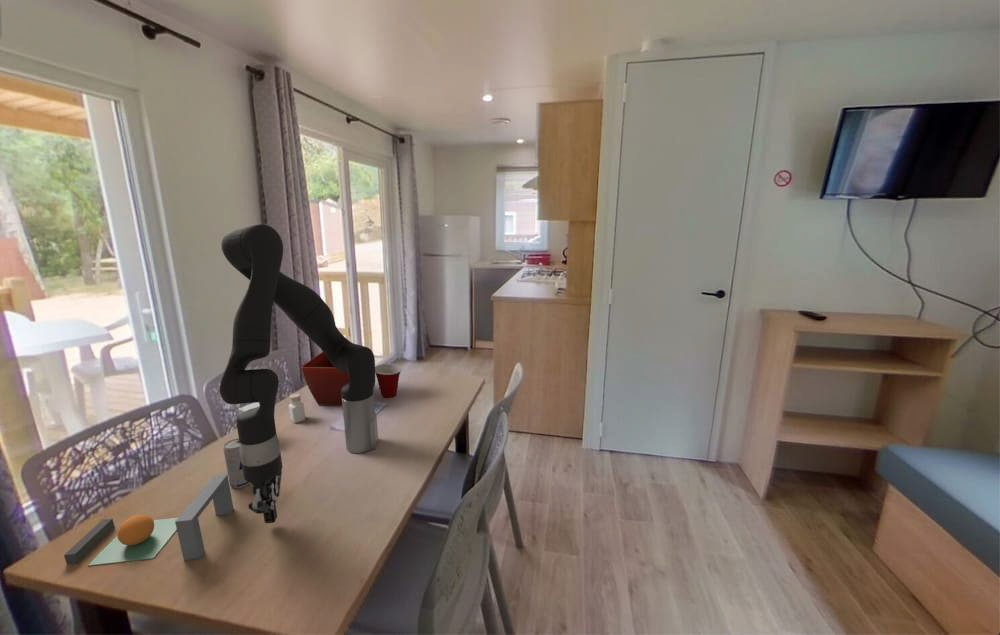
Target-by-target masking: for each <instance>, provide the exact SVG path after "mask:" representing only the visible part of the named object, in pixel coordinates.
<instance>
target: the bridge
mask: <svg viewBox="0 0 1000 635" xmlns="http://www.w3.org/2000/svg"><path fill="white" fill-rule="evenodd" d="M211 502H212V503H213V508H214V512H215V516H216V517H219V516H228V515H231V514H232V512H233V510H234V504H233V503H234V502H233V496H232V493H231V486H230V483H229V477H228V474H220V475H219V474H218V475H217V474H216V475H213V476H212V477H211V478H210V479H209V481H208V482H206V485H204V487H203V488H202V489H201V490H200V492H199V493H198V494H197V495H196V496H195V497H194V499H192V501H191V502H190V503H189V505H187V507H186V508H185V509H184V511H183V512H182V513H181V514H180V515H179V516H178V517H177V518H178V519H177V520H176V521H175V524H176V528H177V531H176V532H177V537H178V540H179V545H180V550H181V554H182V558H183V561H194V560H199V559H201V558H202V556H203V555H204V554H205V550H206V549H205V546H204V540H203V536H202V531H201V527H200V526H201V525H200V521H199V517H200V516H201V515H202V513H203V512H204V511H205V510H206V508H207V507H208V505H209V504H210V503H211Z"/></svg>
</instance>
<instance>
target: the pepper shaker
mask: <svg viewBox="0 0 1000 635" xmlns="http://www.w3.org/2000/svg"><path fill="white" fill-rule="evenodd" d="M289 399H290V401H289V402H290V404H288V412H289V418H290V421H291V422H292V423H294V424H298V423H299V422H303V421H305V420H306V413H305V405H304V403H303V402H302V401H301V399H302V398H301V394H300V393H293V394H290V395H289Z"/></svg>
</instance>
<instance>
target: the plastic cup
mask: <svg viewBox="0 0 1000 635" xmlns="http://www.w3.org/2000/svg"><path fill="white" fill-rule="evenodd" d="M402 369H403V367H402V366H401V365H399V364H395V363H383V364H379V365H375V378H376V380H377V384H378V387H379V390H380V394H381V397H382V399H393V398H395V397H396V396H397V394H398V386H399V381H400V374H401V372H402Z"/></svg>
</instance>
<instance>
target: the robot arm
mask: <svg viewBox="0 0 1000 635" xmlns="http://www.w3.org/2000/svg"><path fill="white" fill-rule="evenodd" d="M220 248H221V251H222V253H223V256H224V257H225V258H226V260H227V261H228V262H229V264H230V265H231V266H232V267H233V268H235V269H236V271H238V272H239V273H240V274H241V275H243V276H244V277H245V278H246V279H247V280H249V283H248V285H247V289H246V291H245V292H244V295H243V297H242V299H241V301H240V303H239V305H238V308H237V310H236V312H235V315H234V319H233V325H232V326H233V327H232V343H231V344H232V346H231V350H230V355H229V359H228V362H227V365H226V366H225V370H224V372H223V375H222V377H221V380H220V383H219V394H220V397H221V399H222V400H223V401H224V403H226V404H227V405H228V404H229V405H242V404H253V403H256V402H259V404H260V406H259V407H256V408H253V409H250V410H247V411H245V412H243V413H241V414H240V415H239V414H238V416H237V417H236V421H235V422H236V423H235V424H236V429H237V435H238V436H237V437H238V438H239V443H240V457H241V463H242V469H243V474H244V479H245V480H246V481H247V482H250V484H252V495H253V496H254V498H253V501H251V502H249V503H248V509H249V510H250V511H252V512H254V513H256V514H257V515H258V514H260V515H261V514H263V521H264V523H265V524H271V523H272V524H273V523H275V522H276V520H277V519H278V518H277V517H278V513H277V506H276V505H277V503H278V499H277V498H278V497H280V492H281V482H282V474H283V471H282V470H283V462H282V454H281V453H282V452H281V447H280V446H281V444H280V440H279V436H278V434H277V428H276V422H275V421H276V420H275V409H276V408H275V407H276V400H277V396H278V391H279V386H280V379H279V377H278V374H277V373H276V372H275V371H274V370H272V369H270V368H257V369H256V368H255V369H254V368H253V369H246V368H247V367H248V365H249V364H250V363H251V362H254V361H256V360H260V359H264V358H266V357H267V356H269V354H270V352H271V341H272V340H271V339H272V337H271V335H272V332H271V331H272V330H271V329H272V315H273V314H272V313H273V306H274V305H276V306H277V307H278V308H279V309H280V310H281V311H282V312H283V313H284V314H285V315H286V316H287V317H288V319H290V320H291V322H292V323H293V324H294V325H295V326H296V327H297V328H298V329H300V330H301V332H303V334H305V335H306V337H308V338H309V339H310V340H311V341H312V342H313V343H315V345H317V347H318V348H319V349H320V350H321V351H322V352H324V354H325V355H326V356H327V358H328V359H329V360H330V362H331V363H332V364H333V366H334V367H335V368H336V369H337V370H339V371H340V372H342V373H345V374H349V383H348V384H346V385H345V386H343V387H342V389H341V396H342V405H341V406H342V416H343V426H344V436H345V446H346V450H347V451H348V452H350V453H354V454H362V453H367V452H369V451H371V450H376V449H377V444H378V441H379V430H378V429H379V428H378V418H377V416H378V415H377V412H375V411H376V409H375V408H376V407H375V397H374V388H375V386H376V373H375V367H376V360H375V355H374V352H373V351H372V349H371V348H369V346H368V347H367V346H365V345H360V344H356V343H353V342H352V341H350V340H349V339H348V338H347V337H345V336H344V335H343V333H342V332H340V330H339V329H338V328H337V325H336V320H335V317H334V314H333V312H332V310H331V309H330V307H329V305H328V304H327V303H326V301H324V299H322V297H321V296H320V295H319V294H318V293H317V292H316V291H315V290H314V289H312V288H311V287H309V286H307V285H305V284H303V283H301V282H299V281H298V280H296V279H293V278H291V277H289V276H287V275H286V274H284V273H283V272H281V271H280V270H281V267H282V262H283V255H284V244H283V240H282V237H281V235H280V234H279V232H278V231H277V230H276V229H274V227H273V226H271V225H267V224H260V223H259V224H254V225H249V226H247V227H244V228H240V229H239V228H238V229H236V230H235V229H234V230H233V231H230V232H227V233H225V235H223V237H222V238H221V241H220Z"/></svg>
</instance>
